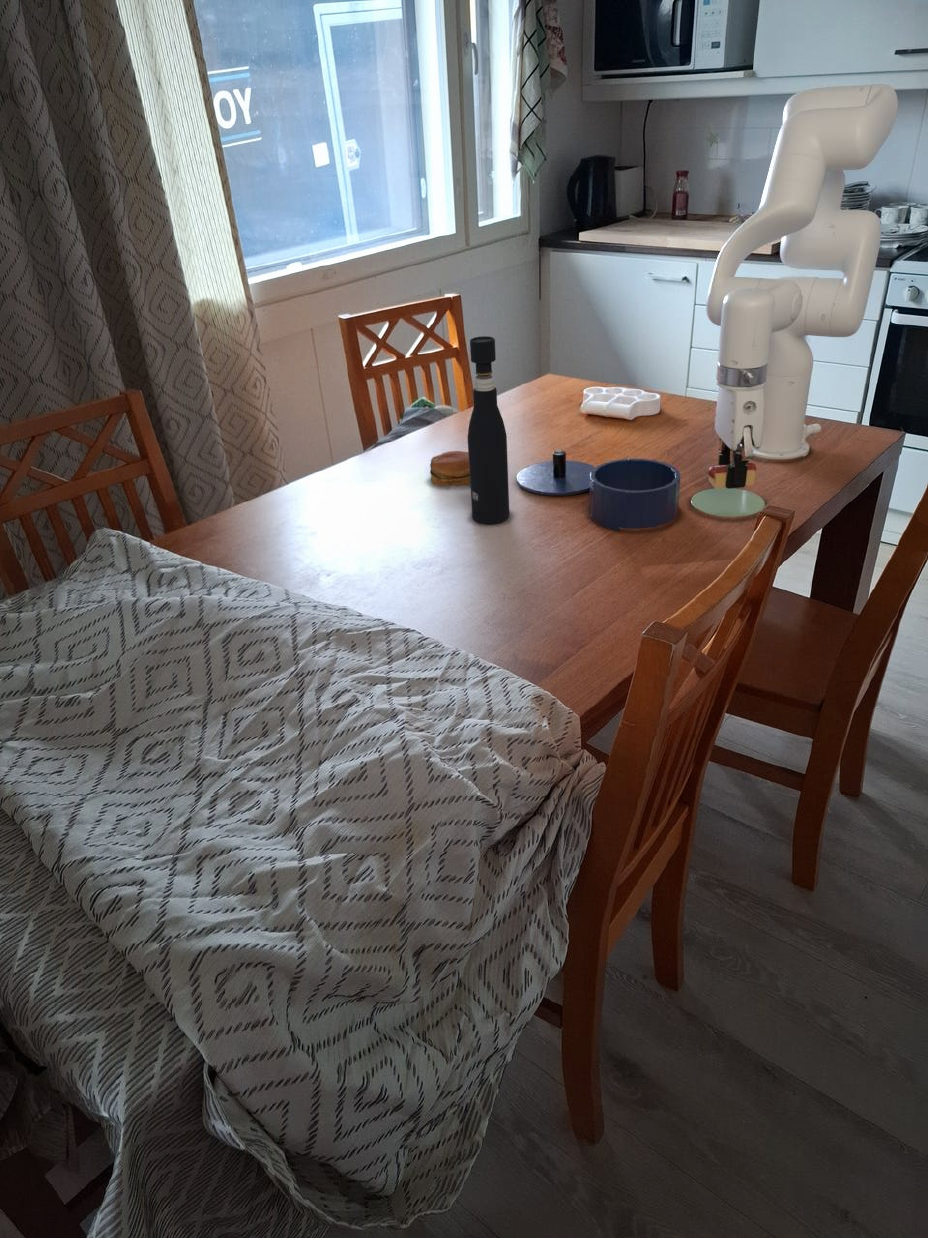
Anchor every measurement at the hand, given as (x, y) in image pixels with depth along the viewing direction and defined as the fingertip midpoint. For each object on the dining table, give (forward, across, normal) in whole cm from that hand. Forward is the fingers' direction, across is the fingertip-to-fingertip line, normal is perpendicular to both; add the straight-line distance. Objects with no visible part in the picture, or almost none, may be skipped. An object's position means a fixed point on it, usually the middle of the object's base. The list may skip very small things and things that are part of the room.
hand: (731, 480), depth 144 cm
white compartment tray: (+6, +54, +7) cm, 54 cm away
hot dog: (0, 0, 0) cm, 0 cm away
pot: (+4, -1, +17) cm, 17 cm away
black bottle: (+4, +2, +41) cm, 41 cm away
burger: (+4, +21, +46) cm, 51 cm away
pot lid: (+3, +16, +27) cm, 31 cm away
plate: (+4, -1, 0) cm, 4 cm away
